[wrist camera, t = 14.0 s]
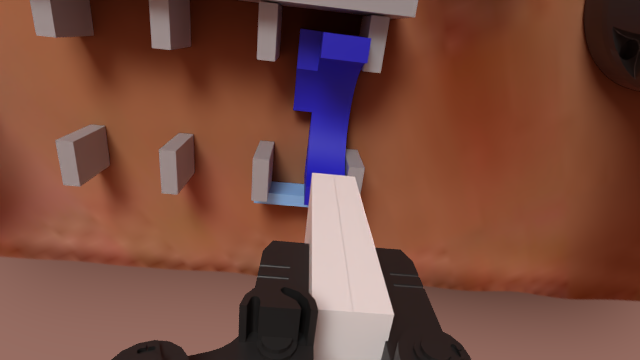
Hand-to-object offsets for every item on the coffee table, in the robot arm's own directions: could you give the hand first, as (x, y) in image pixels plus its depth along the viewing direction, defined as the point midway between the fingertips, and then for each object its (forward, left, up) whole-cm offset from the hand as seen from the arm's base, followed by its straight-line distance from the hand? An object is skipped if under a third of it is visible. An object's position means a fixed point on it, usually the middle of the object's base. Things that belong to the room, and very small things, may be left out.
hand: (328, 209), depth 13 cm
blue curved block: (0, 0, -19) cm, 19 cm away
